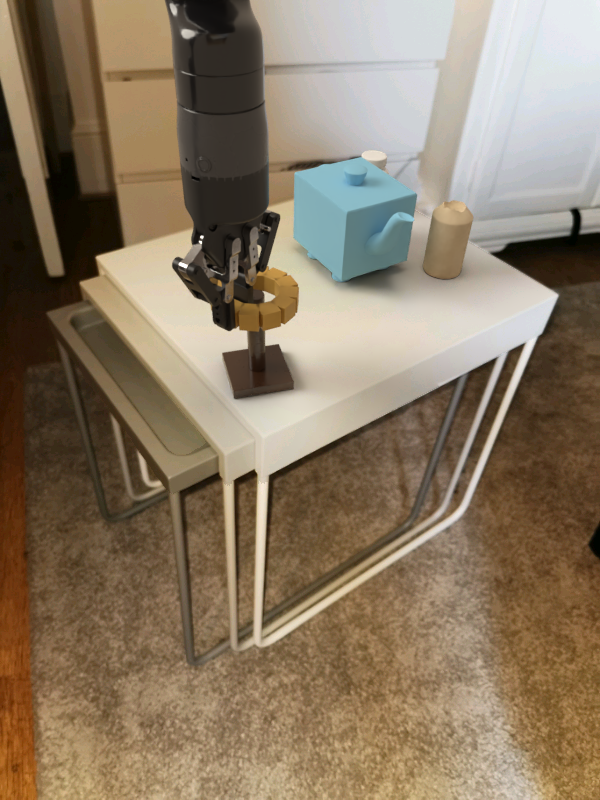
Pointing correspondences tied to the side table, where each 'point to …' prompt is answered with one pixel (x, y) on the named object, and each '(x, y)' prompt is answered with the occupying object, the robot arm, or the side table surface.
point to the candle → (447, 239)
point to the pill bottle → (376, 159)
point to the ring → (269, 302)
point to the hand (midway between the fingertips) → (233, 320)
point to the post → (257, 364)
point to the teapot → (352, 217)
